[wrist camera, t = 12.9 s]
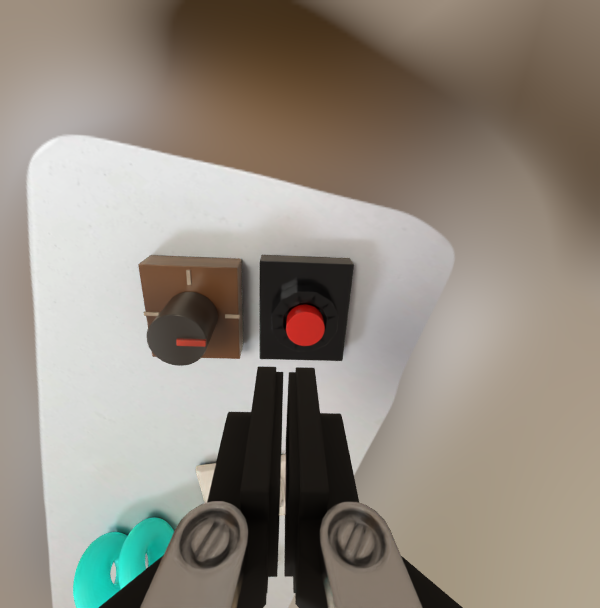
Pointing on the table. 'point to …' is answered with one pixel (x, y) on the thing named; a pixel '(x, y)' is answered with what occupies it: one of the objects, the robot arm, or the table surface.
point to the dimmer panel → (204, 280)
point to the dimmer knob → (183, 329)
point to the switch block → (303, 291)
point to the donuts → (118, 561)
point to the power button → (305, 325)
